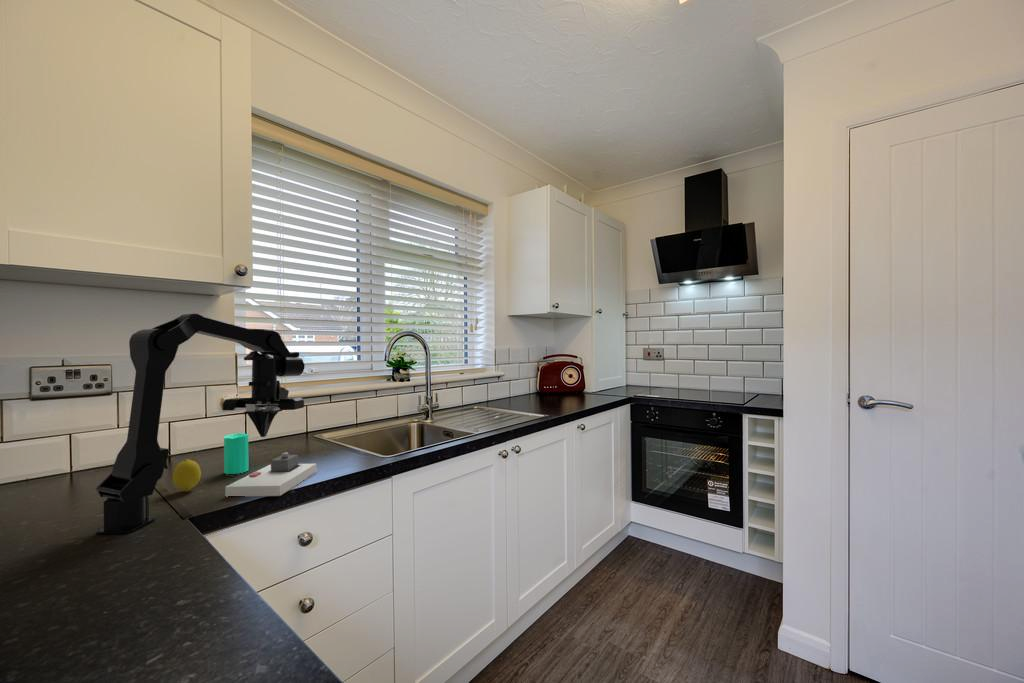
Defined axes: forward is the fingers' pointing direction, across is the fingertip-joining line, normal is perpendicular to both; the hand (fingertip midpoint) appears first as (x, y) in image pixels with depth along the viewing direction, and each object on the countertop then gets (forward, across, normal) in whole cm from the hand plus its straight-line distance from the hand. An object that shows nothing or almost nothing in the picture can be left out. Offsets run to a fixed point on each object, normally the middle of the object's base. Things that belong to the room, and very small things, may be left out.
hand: (263, 436), depth 111 cm
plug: (+11, -4, -4) cm, 13 cm away
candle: (+12, +13, -10) cm, 21 cm away
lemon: (+12, +15, +6) cm, 21 cm away
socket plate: (+12, -4, +1) cm, 12 cm away
